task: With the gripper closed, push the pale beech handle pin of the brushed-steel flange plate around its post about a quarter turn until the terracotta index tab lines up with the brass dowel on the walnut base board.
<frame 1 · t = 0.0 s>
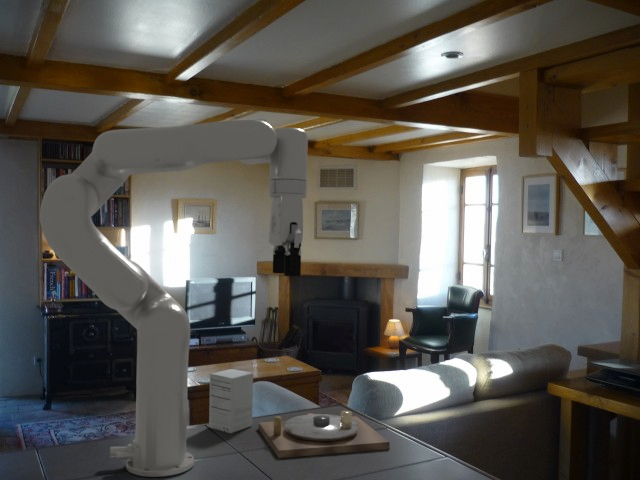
hand: (286, 274, 129), 37 cm above the table, tool pointing down, fingers open, 9 cm apart
flange plate: (320, 418, 141), point 4 cm above the table, hinge at 0.0°
base board: (321, 438, 140), on the table
supplement box: (230, 427, 148), on the table
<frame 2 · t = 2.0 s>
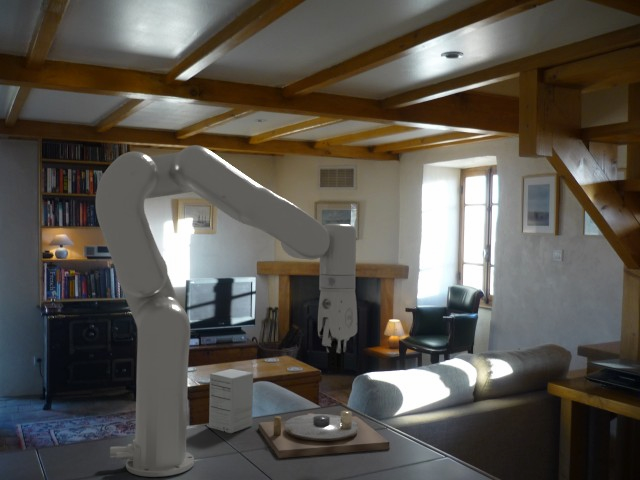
hand: (336, 371, 132), 17 cm above the table, tool pointing down, fingers closed
nothing on the table moved.
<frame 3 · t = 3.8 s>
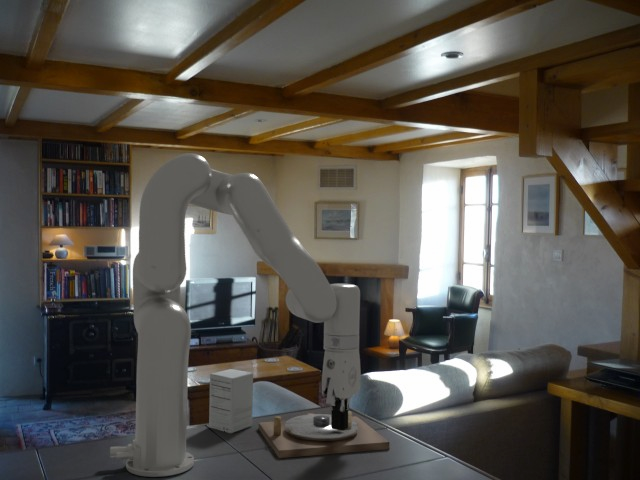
hand: (339, 428, 135), 4 cm above the table, tool pointing down, fingers closed
flange plate: (320, 418, 141), point 4 cm above the table, hinge at 0.0°, touching gripper
everything else where it was.
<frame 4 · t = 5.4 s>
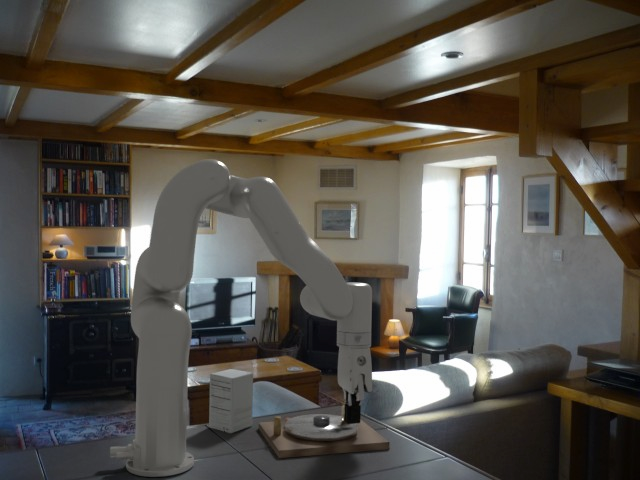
hand: (352, 422, 139), 4 cm above the table, tool pointing down, fingers closed
flange plate: (319, 418, 141), point 4 cm above the table, hinge at 46.8°, touching gripper
everything else where it was.
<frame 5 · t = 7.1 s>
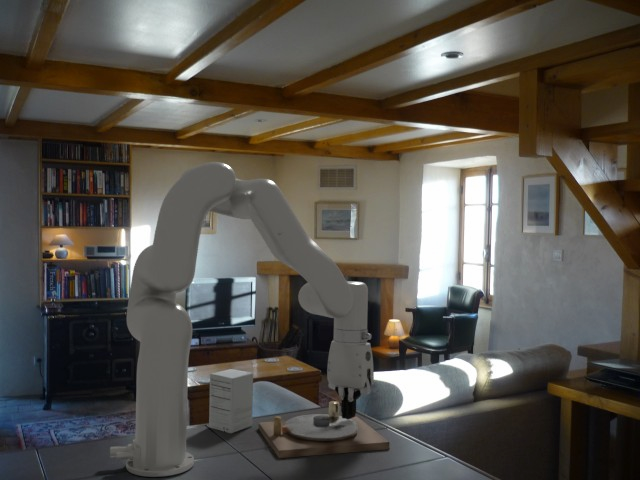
hand: (348, 417, 144), 4 cm above the table, tool pointing down, fingers closed
flange plate: (319, 419, 140), point 4 cm above the table, hinge at 89.3°
everything else where it was.
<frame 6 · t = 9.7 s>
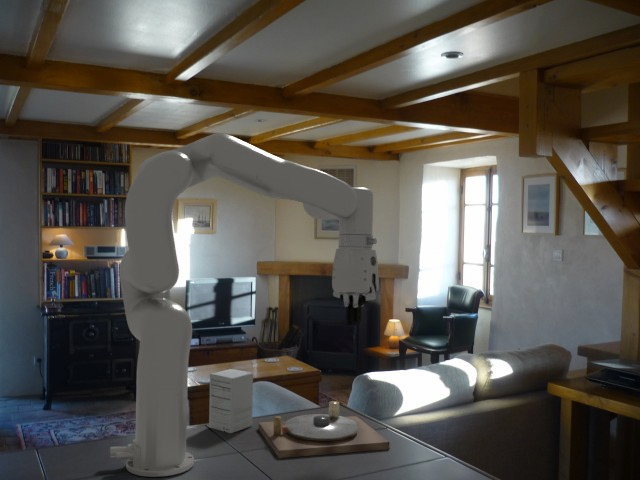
hand: (353, 324, 143), 25 cm above the table, tool pointing down, fingers closed
nothing on the table moved.
at the end: flange plate at +89° (first picture: +0°); supplement box moved 0.3 cm from its start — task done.
